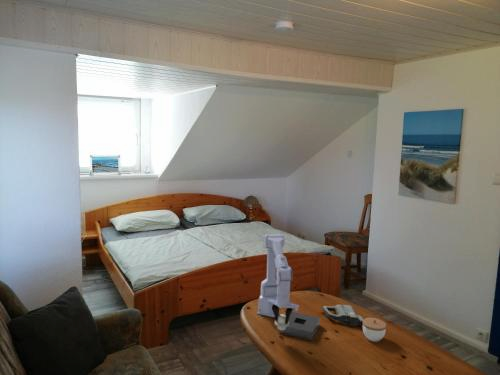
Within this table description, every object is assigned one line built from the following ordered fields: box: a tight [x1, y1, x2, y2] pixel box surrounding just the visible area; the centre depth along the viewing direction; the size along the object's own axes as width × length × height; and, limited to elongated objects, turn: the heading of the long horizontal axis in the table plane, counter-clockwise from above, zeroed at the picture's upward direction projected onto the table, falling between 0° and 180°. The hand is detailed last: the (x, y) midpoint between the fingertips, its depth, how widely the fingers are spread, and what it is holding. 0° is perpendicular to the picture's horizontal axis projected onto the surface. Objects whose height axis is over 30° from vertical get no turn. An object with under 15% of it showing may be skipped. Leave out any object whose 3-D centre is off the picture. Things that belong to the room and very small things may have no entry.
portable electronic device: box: [321, 304, 365, 328], centre depth 196 cm, size 16×20×5 cm
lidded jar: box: [362, 317, 387, 343], centre depth 179 cm, size 11×11×9 cm
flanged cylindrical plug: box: [274, 313, 289, 331], centre depth 173 cm, size 7×7×6 cm
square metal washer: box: [278, 311, 320, 341], centre depth 185 cm, size 16×16×4 cm
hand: (281, 321), depth 173 cm, fingers closed on flanged cylindrical plug, 4 cm apart
